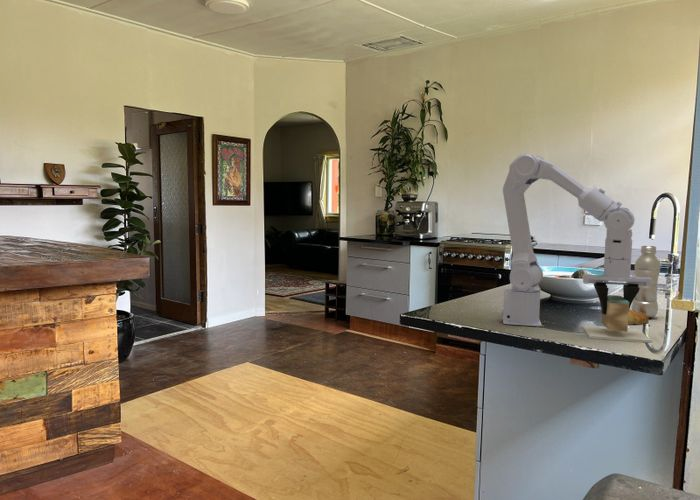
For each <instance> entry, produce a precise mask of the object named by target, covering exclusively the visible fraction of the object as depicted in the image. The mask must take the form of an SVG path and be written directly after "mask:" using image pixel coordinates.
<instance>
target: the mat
mask: <svg viewBox="0 0 700 500" xmlns="http://www.w3.org/2000/svg"><path fill="white" fill-rule="evenodd" d="M581 329H583V331H584V332H585V333H586V335H587V336H588V338H589V339H591V340H592V339H593V340H605V339H606V340H607V341H618V342H619V341H621V342H637V343H648V344H649V343H650V344H651V343H652V339H651V338H650V337H649V336H647V335H646V334H645V333H644V332H642V330H640V329H639V328H629V327H628V330H627V332H625V331H610V330H608V329H607V328H606V327H605V326H601V325H599V326H598V325H585V324H583V325H581Z"/></svg>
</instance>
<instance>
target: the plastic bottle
mask: <svg viewBox="0 0 700 500" xmlns="http://www.w3.org/2000/svg"><path fill="white" fill-rule="evenodd" d="M640 253H641V255H640V256H639V257H638V258H637V259H636V260H635V263H634V274H635V275H634V276H635V277H649V278H651V287H649V286H638V287H639V288H640V290H639V292H638V293H637V295H636V296H635V298H634V300H633V302H632V304H631V310H634V311H637V312H642V313H643V314H645V315H647V316H648V319H649V318H655V317H656V316H657V315H658V310H659V304H658V297H657V296H658V295H657V293H658V291H657V289H658V283H659V282H658V281H659V276H660V272H661V267H662V266H661V262H660V261H659V258H658V257H657V256H656V254H657V246H654V245H642V246H640Z"/></svg>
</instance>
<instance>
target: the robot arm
mask: <svg viewBox="0 0 700 500" xmlns="http://www.w3.org/2000/svg"><path fill="white" fill-rule="evenodd" d="M540 179H541V180H546V181H547V180H548V181H552V183H554V184H555V185H557V186H559V187H561V189H563V190H565V192H568V193H569V194H570V195H572V196H573V197H575V198H577V201H578V206H579V208H581V209H582V210H584V211H585V212H586V213H588V214H589V215H590V216H592V217H593V218H595V220H597V221H598V222H603V223H604V226H605V228H606V237H605V240H604V241H605V242H604V256H603V257H604V258H603V274H583V276H582V283H583V284H585V285H587V284H588V285H589V284H593V287H594V289H595V291H596V293H597V297H598V299H599V303H600V308H601V315H602V314H606V313H607V295H609V288H608V285H615V286H617V285H618V286H621V285H622V290H623V294H622V295H623V296H622V297H623V298H625V299H626V300H627V301H628V302H629V309H630V308H631V307H632V302H633V300H634V298H635V296H636V295H637V293H638V292H639V290H640V288H639V287H638V286H649V287H651V278H649V277H635V275H633V276H631V266H632V251H633V239H632V237H633V229H632V227H633V226H634V225H635V216H634V214H633V212H632V211H631V210H630V209H629V208H627V207H624V206H623V207H621V206H622V204H623V203H622V202H620V201H615V200H614V199H612V198H611V197H610V196H608V195H607V194H606V190H604V189H603V188H599V189H598V188H597V187H589V188H588V187H585V186H584V185H583V184H581V182H579V181H578V180H577V179H575V178H574V177H572V176H571V175H570V174H569V173H567V172H566V171H565V170H563V169H562V168H560V167H559V166H558V165H557V164H555V163H553V162H550V161H548V160H546V159H544V158H543V157H542V156H539V155H534V154H532V153H527V152H526V153H522V154H519V155H518V156H517V157H516V158H515V159H514V160H513V161H512V162H511V163H510V165H509V171H508V174H507V176H506V179H505V181H504V183H503V186H502V194H503V200H504V206H505V212H506V218H507V226H508V231H509V232H508V233H509V236H510V237H509V238H510V245H511V250H512V257H511V261H510V267H511V271H510V273H509V281H510V284H511V285H512V286H511V288H504V289H503V298H502V299H503V301H502V304H503V305H502V309H501V317H502V322H503V324H504V325H511V326H512V325H514V326H515V325H516V326H528V327H529V326H530V327H542V326H543V325H542V322H541V320H540V308H541V307H540V304H541V287H540V285H539V284H540V283H541V282H542V280H543V277H544V273H543V269H542V268H541V266H540V265H539V263H538V258H537V256H536V254H535V252H534V247H533V243H532V242H533V241H532V237H531V235H532V234H531V231H530V224H529V216H528V212H527V205H526V198H525V193H526V191H528V189H529V188H530V187H531V186H532V184H533V183H535V182H537V181H538V180H540ZM630 310H631V309H630Z"/></svg>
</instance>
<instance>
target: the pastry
mask: <svg viewBox="0 0 700 500" xmlns="http://www.w3.org/2000/svg"><path fill="white" fill-rule="evenodd" d="M648 323H649V318H648V316H647V315H645V314H643V313H642V312H637V311H634V310H632V309H629V315H628V326H629V325H630V326H631V325H632V326H633V325H634V324H635V325H637V326H638V325H644V324H648Z"/></svg>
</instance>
